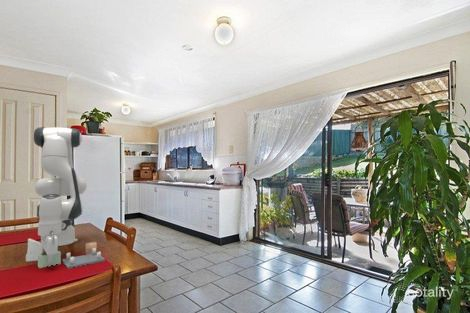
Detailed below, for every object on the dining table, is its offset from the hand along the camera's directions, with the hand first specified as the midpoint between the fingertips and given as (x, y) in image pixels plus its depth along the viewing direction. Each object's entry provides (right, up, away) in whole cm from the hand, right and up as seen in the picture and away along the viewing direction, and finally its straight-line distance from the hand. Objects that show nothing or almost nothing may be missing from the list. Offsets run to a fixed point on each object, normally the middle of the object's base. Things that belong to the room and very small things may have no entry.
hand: (48, 260), depth 119 cm
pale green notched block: (0, -2, 0) cm, 2 cm away
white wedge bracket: (-12, -3, +7) cm, 14 cm away
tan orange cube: (+10, -3, +17) cm, 20 cm away
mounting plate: (+13, -2, +5) cm, 14 cm away
